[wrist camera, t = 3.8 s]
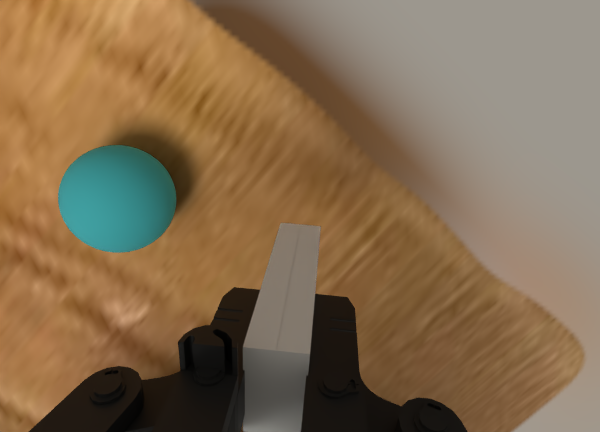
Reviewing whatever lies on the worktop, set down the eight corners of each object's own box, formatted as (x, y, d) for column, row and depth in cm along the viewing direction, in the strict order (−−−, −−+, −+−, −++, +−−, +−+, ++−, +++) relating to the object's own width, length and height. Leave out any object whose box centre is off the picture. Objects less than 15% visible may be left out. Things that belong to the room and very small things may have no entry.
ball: (188, 138, 22) (143, 166, 17) (193, 229, 24) (155, 277, 19) (91, 131, 22) (18, 156, 17) (104, 221, 24) (44, 267, 19)
